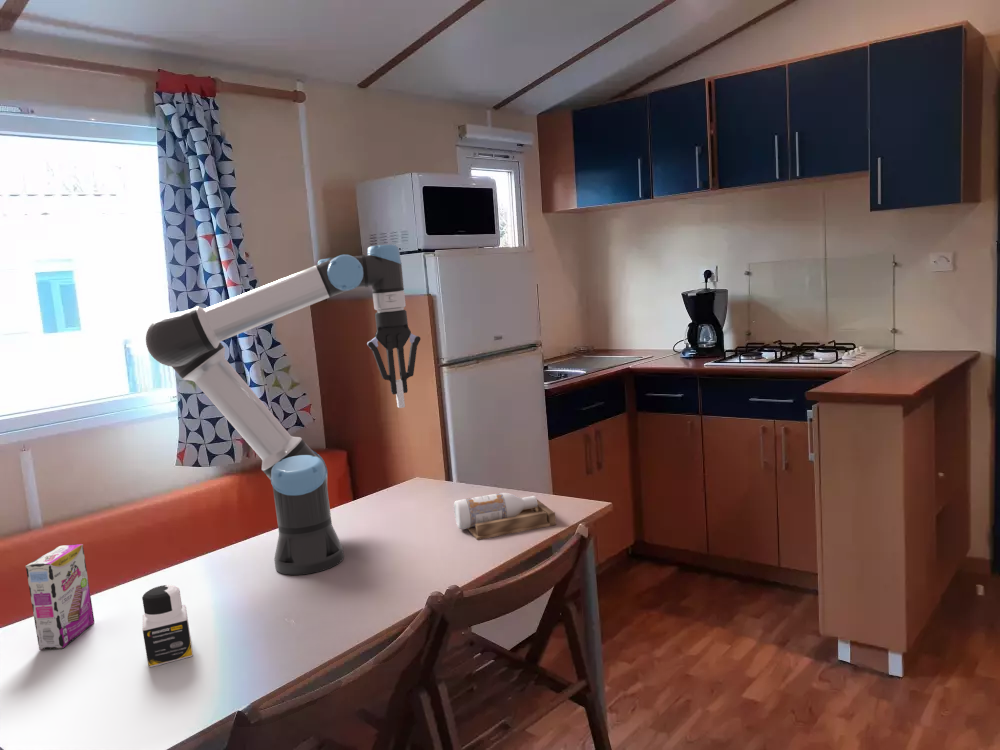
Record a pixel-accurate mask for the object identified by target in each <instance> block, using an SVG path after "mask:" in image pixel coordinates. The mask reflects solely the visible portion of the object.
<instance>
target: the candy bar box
mask: <svg viewBox="0 0 1000 750" xmlns="http://www.w3.org/2000/svg"><path fill="white" fill-rule="evenodd" d="M86 563H87V562H86V557H85V550H84V544H82V543H80V544H66V545H59V546H57V547H55V548H54V549H52V550H51V551H48V552H47V553H45V554H43V555H42V556H39V557H38V558H37V559H35V560H33V561H31V562H30V563H28V564H27V565H25V571H26V576H27V577H26V578H27V582H28V589H29V594H30V601H31V605H32V612H33V613H32V614H33V620H34V626H35V633H36V638H37V645H38V650H40V651H45V650H61V649H64V648H66V647H67V646H68V645H69V644H71V643H72V642H73V641H74V640H75V639H76V638H77V637H79V635H81V634H82V633H83V632H85V631H86V630H87V629H89V628H90V627H91V626H92V625H94V623H95V616H94V608H93V603H92V597H91V596H92V595H91V592H90V584H89V577H88V576H89V575H88V569H87V564H86Z"/></svg>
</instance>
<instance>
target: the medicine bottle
mask: <svg viewBox="0 0 1000 750" xmlns="http://www.w3.org/2000/svg"><path fill="white" fill-rule="evenodd" d="M141 599H142V600H141V601H142V605H143V611H144V613H143V615H142V635H143V642H144V648H145V653H146V654H145V655H146V659H147V666H148V668H153V667H157V666H161V665H164V664H168V663H172V662H177V661H181V660H184V659H188V658H191V657H192V656H193V655H194V654H193V646H192V638H191V637H192V636H191V630H190V624H189V619H188V618H189V617H188V611H187V606H186V604H183V603H182V602H183V601H182V596H181V590H180V588H179V587H178V586H177V585H172V584H165V585H158V586H156V587H153V588H151V589H149V590H148V591H145V593H143V595H142V596H141Z"/></svg>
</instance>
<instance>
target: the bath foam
mask: <svg viewBox="0 0 1000 750" xmlns="http://www.w3.org/2000/svg"><path fill="white" fill-rule="evenodd" d="M537 500H538V499H537V496H536V495H531V496H530V495H529V496H524V497H520V496H517V495H515V494H513V493H509V492H497V493H492V494H487V495H480V496H475V497H468V498H462V499H457V500H455V501H454V503H453V514H454V519H455V523H456V526H457V528H458V529H459V530H465V529H467V528H472V527H476V526H475V524H478V523H483V522H489V521H494V520H500V519H505V518H510V517H516V516H517V515H518V514H519V513H520V512H521V511H522V510H525V509H531V508H536V507H537Z"/></svg>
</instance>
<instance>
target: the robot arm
mask: <svg viewBox="0 0 1000 750" xmlns="http://www.w3.org/2000/svg"><path fill="white" fill-rule="evenodd" d="M369 287H371V290H372V301H373V308H374V310H375V311H376V312H375V314H374V317H375V319H374V320H375V329H376V332H375V335H374V337H373V338H372V339H370V340H369V341H367V343H366V345H367V347H368V348H369V349H370V350H371V351H372V354H373V356H374V359H375V362H376V365H377V368H378V371H379V372H380V375H381V377H382V379H383V380H385V381H389V383H390V393H392V395H395V396H396V398H395V400H396V407H397V408H398V409H403V408H406V404H405V394H406V393H408V389H409V388H408V383H407V382H408V381H407V380H408V379H409V378H411V377H413V376H414V374H415V373H414V372H415V367H416V358H417V350H418V345H419V343H420V341H421V337H420V336H419V335H416V334H413V332H411V329H410V328H409V324H408V323H409V322H408V314H407V310H406V309H405V307H406V305H407V304H406V297H405V288H404V287H405V285H404V278H403V266H402V260H401V253H400V248H399V246H398V245H396V244H393V243H392V244H378V245H371V246H368V247H367V253H366V254H364V255H355V256H352V255H350V254H348V253H347V254H344V253H343V254H340V255H337V256H335V257H327V258H321V259H319V260H318V262H317V264H316V265H313V266H311V267H308V268H305V269H303V270H301V271H298V272H296V273H292V274H290V275H288V276H285V277H282V278H279V279H278V280H275V281H273V282H270V283H267V284H265V285H262V286H260V287H257V288H254V289H252V290H249V291H247V292H243V293H242V294H240V295H239V294H238V295H237V296H234V297H231V298H229V299H226V300H223V301H222V302H219V303H216V304H213V305H211V306H208V307H206V308H204V307H201V306H198V305H197V306H195V307H193V308H190V309H187V310H177V311H173V312H170V313H166V314H164V315H160V316H159V317H157V318H156V319H155V320H154V321H152V322H151V324H150V325H149V327H148V329H147V330H146V334H145V335H146V336H145V343H146V344H145V345H146V348H147V351H148V352H149V354H150V356H151V357H153V359H154V360H155V361H156V362H158V363H160V364H162V365H164V366H168V367H172V368H173V370H174V371H175V372H176V373H177V374H178V376H179V377H180V378H181V379H182V380H183V381H192V382H193V383H195V385H196V386H197V387H198V388H199V389H200V390H201V391H202V392H203V394H204V395H205V396H206V397H207V398H208V400H210V401H211V403H212V404H213V405H214V406H215V407H216V408H217V410H218V411H219V412H220V413H221V414H222V416H224V418H225V419H226V420H227V421H228V422H229V424H230V425H231V426H232V427H233V428H234V429H235V430H236V431H237V433H238V434H239V435H240V436H241V437H242V439H243V440H245V442H246V443H247V444H248V446H250V448H251V449H252V451H254V453H255V454H256V455H257V456H258V457H259V458H260V459H261V471H262V472H263V473H264V474H265V476H267V478H268V479H269V480H270V483H271V485H272V486H271V487H272V491H273V499H274V506H275V513H276V514H275V515H276V521H277V529H278V536H277V537H278V539H277V543H276V549H275V552H274V553H275V554H274V559H273V560H274V567H275V571H276V572H278V573H279V574H283V575H288V576H289V575H291V576H296V575H298V576H299V575H309V574H313V573H314V574H315V573H318V572H322V571H325V570H328V569H330V568H333V567H334V566H336V565H338V564H340V563H341V562H342V561H343V559H344V557H345V555H344V547H343V545H342V543H341V541H340V539H339V536H338V535H337V532H336V530H335V529H334V526H333V522H332V516H331V515H332V514H331V513H332V512H331V508H330V500H329V489H328V468H327V464H326V463H325V460H324V459H323V457H322V456H321V455H320V454H318V453H317V452H316V451H314V450H313V449H312V448H311V447H309V445H308V444H307V443H306V441H304V439H303V438H302V437H300V436H293V435H291V434H290V433H289V432H288V431H287V429H286V428H285V427H284V426H283V425H282V423H280V422H279V420H278V418H276V416H275V415H274V414H273V413H272V412H271V411H270V410H269V408H268V407H267V405H265V404H264V402H263V401H262V400H261V399H260V398H259V397H258V396H257V394H256V393H255V392H254V391H253V390H252V389H251V387H250V386H249V385H248V384H247V383H246V381H245V380H244V379H243V378H242V377H241V375H240V374H239V373H238V372H237V371H236V369H235V368H234V367H233V366H232V364H230V363H229V361H228V360H227V359H226V357H225V352H226V348H225V346H224V345H223V344H222V341H224V340H227V339H229V338H230V339H231V338H232V337H235V336H237V335H240V334H243V333H244V332H247V331H250V330H252V329H254V328H257V327H260V326H262V325H265V324H266V323H269V322H272V321H274V320H276V319H279V318H282V317H284V316H287V315H289V314H291V313H294V312H296V311H299V310H302V309H304V308H307V307H309V306H312V305H314V304H316V303H319V302H321V301H322V302H323V301H324V300H326V299H330V298H331V297H334V296H336V295H339V294H342V293H344V292H348V291H352V290H355V289H358V288H359V289H362V288H369ZM408 341H409V343H410V347H409V354H408V355H409V356H408V363H407V369H406V362H405V350H404V349H405V348H404V347H405V346H406V343H407V342H408ZM378 342H379V343H380V345H382V347H383V348H385V351H386V358H387V365H388V366H387V367H388V373H387V370H386V367H385V365H384V362H383V359H382V356H381V353H380V351H379V349H378V347H379V343H378ZM394 349H396V352H397V363H398V371H399V378H400V379H397V377H396V367H395V359H394V358H395V357H394Z"/></svg>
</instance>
